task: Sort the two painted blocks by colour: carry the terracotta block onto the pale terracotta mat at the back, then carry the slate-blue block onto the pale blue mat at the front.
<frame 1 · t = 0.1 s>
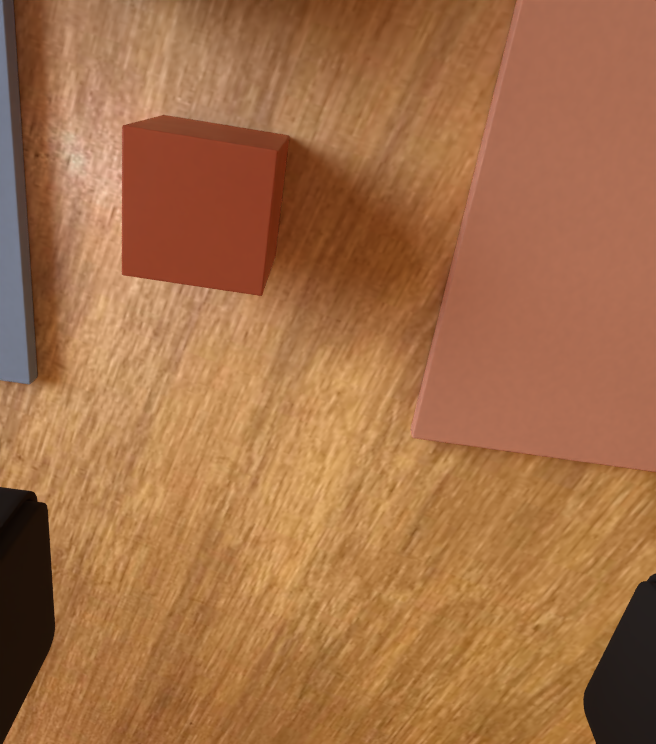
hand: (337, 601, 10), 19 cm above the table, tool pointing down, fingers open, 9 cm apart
terracotta block: (221, 189, 25), on the table
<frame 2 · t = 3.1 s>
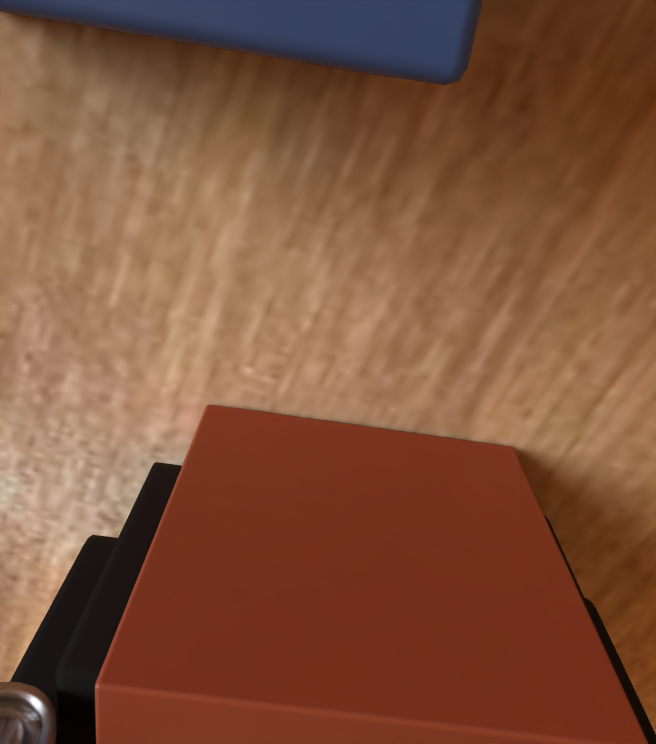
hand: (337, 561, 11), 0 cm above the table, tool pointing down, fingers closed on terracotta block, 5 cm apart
terracotta block: (337, 543, 11), on the table, touching gripper
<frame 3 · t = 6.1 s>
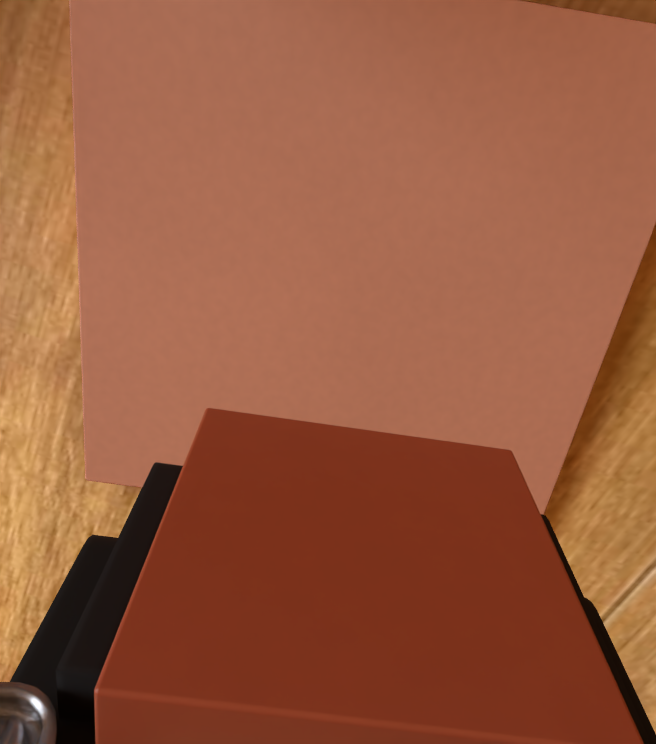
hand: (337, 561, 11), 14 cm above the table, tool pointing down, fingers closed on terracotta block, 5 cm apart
terracotta mat: (350, 289, 23), on the table
terracotta block: (336, 546, 11), point 14 cm above the table, touching gripper
when the fingers open (1 cm above the table, at t = 9.4 s): terracotta block stays where it is, resting on terracotta mat.
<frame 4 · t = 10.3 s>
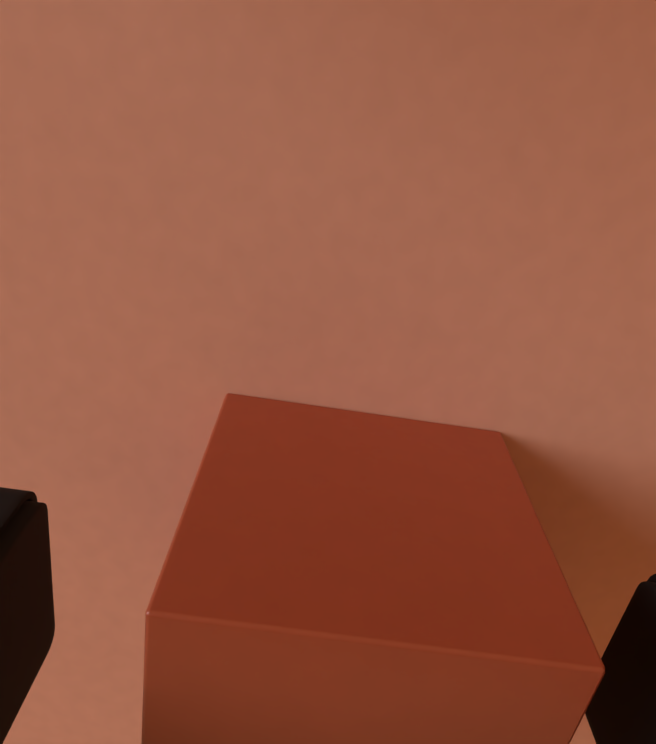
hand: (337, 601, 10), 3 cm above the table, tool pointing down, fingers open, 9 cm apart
terracotta mat: (342, 492, 13), on the table
terracotta block: (342, 521, 12), point 1 cm above the table, touching terracotta mat
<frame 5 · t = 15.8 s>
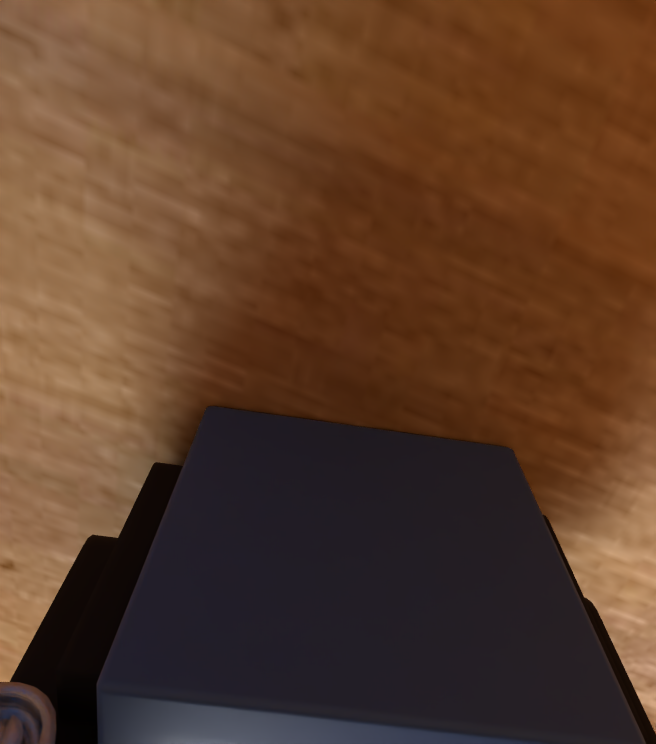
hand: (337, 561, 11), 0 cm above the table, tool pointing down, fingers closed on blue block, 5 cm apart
blue block: (337, 543, 11), on the table, touching gripper
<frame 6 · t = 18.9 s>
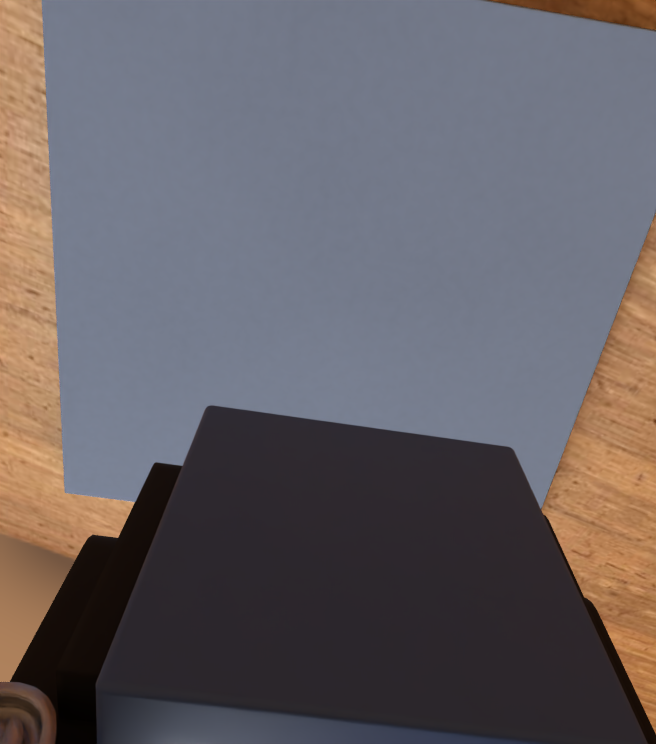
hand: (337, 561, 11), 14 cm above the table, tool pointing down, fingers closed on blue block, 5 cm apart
blue block: (337, 543, 11), point 13 cm above the table, touching gripper
blue mat: (335, 299, 23), on the table
when the fingers open (1 cm above the table, at t = 22.1 s): blue block stays where it is, resting on blue mat.
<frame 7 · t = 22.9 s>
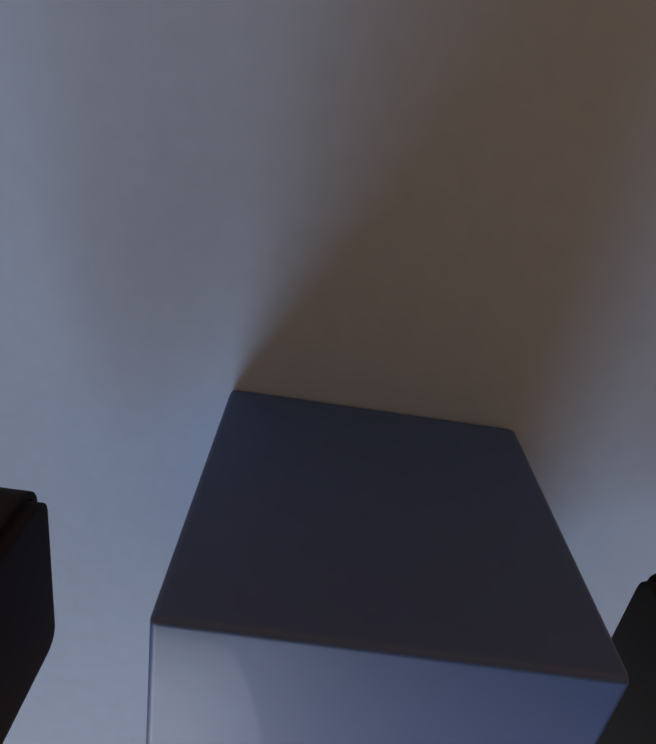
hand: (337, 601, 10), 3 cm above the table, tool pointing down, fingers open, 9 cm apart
blue block: (350, 520, 12), point 1 cm above the table, touching blue mat
blue mat: (347, 494, 12), on the table
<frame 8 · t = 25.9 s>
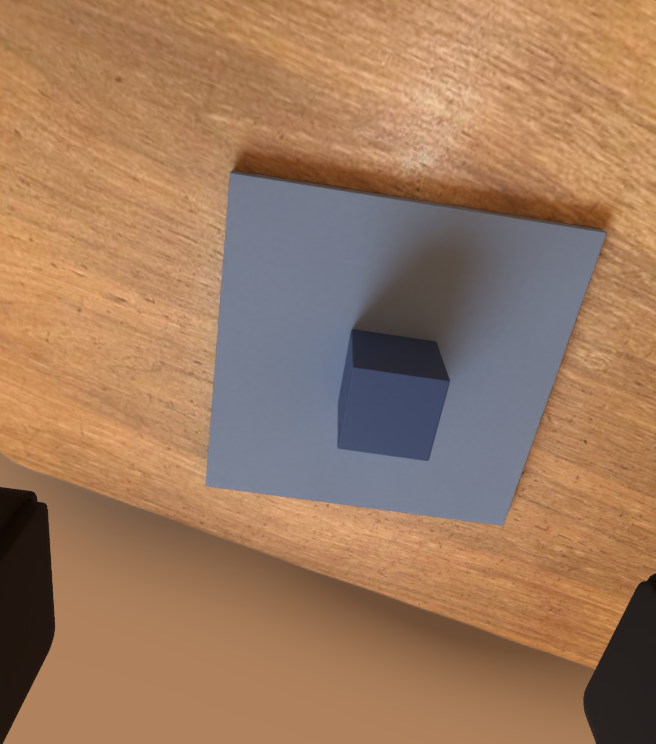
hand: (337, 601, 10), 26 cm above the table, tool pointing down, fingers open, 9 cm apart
blue block: (385, 373, 36), point 1 cm above the table, touching blue mat
blue mat: (384, 367, 37), on the table
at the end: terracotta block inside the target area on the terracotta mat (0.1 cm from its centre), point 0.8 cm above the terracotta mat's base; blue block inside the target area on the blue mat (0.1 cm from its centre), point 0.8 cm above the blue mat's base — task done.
